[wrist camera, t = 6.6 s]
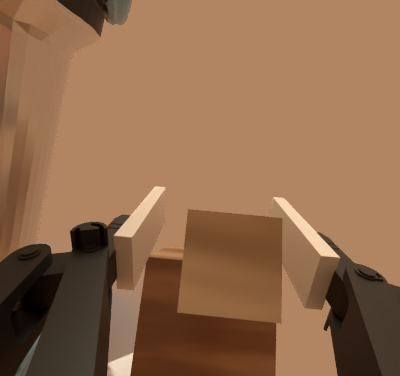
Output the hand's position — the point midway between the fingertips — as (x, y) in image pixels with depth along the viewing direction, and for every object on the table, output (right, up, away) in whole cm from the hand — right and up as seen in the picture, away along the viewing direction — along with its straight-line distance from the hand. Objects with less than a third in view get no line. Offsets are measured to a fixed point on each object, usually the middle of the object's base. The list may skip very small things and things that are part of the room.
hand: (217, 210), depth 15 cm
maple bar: (0, -5, +4) cm, 6 cm away
